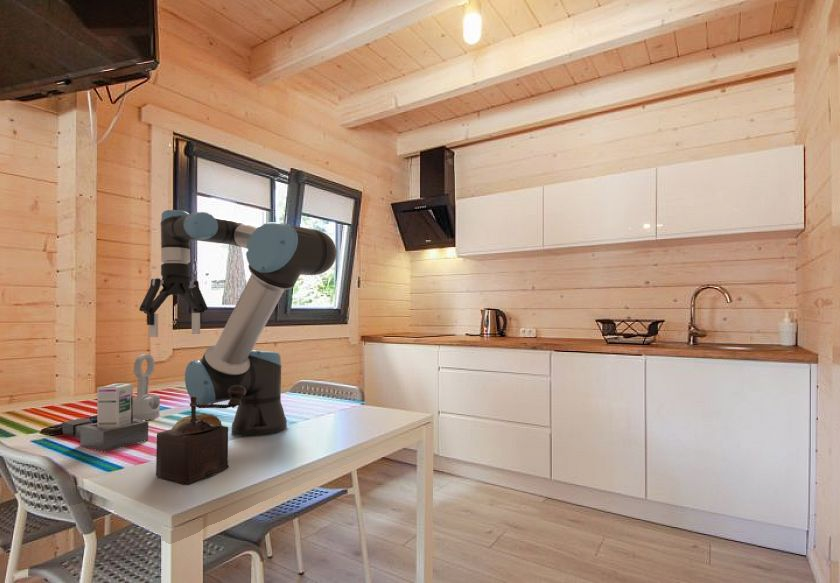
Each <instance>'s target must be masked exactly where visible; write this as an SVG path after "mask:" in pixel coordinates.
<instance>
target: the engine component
mask: <svg viewBox="0 0 840 583" xmlns="http://www.w3.org/2000/svg"><path fill="white" fill-rule="evenodd" d="M145 360H146V365H147V366H146V370H145V372H144V373H143V370H142V369H143V368H142V365H143V362H144V361H145ZM155 364H156V362H155V358H154V356H152V355H151V354H149V353H142V354H139V355H138V356H137V357H136V359H135V361H134V363H133V372H132V373H133V374H134V376H135V377H136V378H137V386H136V387H137V389H136V395H135V397H133V418H134V419H139V420H147V421H150V420H149V419H151V420H155V419H158V418H159V417H160V411H161V410H160V409H161V408H160V407H161V406H160V405H161V404H160V403H161V402H160V401H161V400H160V399H161V396H160V395H158V394H149V385H150V383H149V382H150V377H151V376H152V375H153V373H154V372H155ZM157 417H158V418H157ZM154 418H155V419H154Z"/></svg>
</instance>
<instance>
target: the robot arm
mask: <svg viewBox="0 0 840 583" xmlns="http://www.w3.org/2000/svg"><path fill="white" fill-rule="evenodd" d="M160 218H161V219H160V220H161V221H160V245H161V246H160V253H161V254H160V255H161V256H160V258H161V259H160V261H161V262H162V263H161V265H160V275H161V276H162V278H159V277H158V278H151V279H150V286H149V288H148V290H147V293H146V294H145V296H144V298H143V301H142V302H141V304H140V306H139V308H138V309H139V311H140V312H143V313H144V314H146V325H147V326H148V331H149V332H148V338H158V337H159V313H156V312H157V311H158V310H159V308H160V307H161V306H162V305H163V303H164V302H165V301H166V300H167V298H168V297H169V296H173V295H174V296H181V297H183V299H184V300H185V302H187V304H188V306H189V307H190V308H191V309H192V311H193V312H191V335H200V334H201V323H202V322H203V321H202V320H203V318H202V317H203V315H202V314H203V313H205V311H208V309H209V308H208V306H207V303H206V300H205V298H204V295H203V294H202V291H201V289H200V285H199V284H200V283H199V281H198V280H189V278H190V276H191V266H190V264H189V263H191V245H190V244H191V242H195V241H196V242H197V241H199V242H204V243H205V242H207V243H214V244H215V243H216V244H224V245H231V246H235V247H239V248H244V249H247V251H246V252H245V256H246V261H247V263H248V266H247V267H248V270H249V272H250V277H249V278H248V281H247V282H246V285H245V286H244V288H243V290H242V291H241V294H240V295H239V296H240V297H239V298H238V300H237V302H236V304H235V306H234V308H233V310H232V312H231V314H230V316H229V318H228V320H227V321H226V323H225V326H224V328H223V330H222V332H221V333H220V336H219V338H218V340H217V342H216V343H215V344H211V345H210V346H208V347H207V348H206V350H205V351H204V354H203V355H202V358H201V359H195V360H194V359H193V360H192V361H190V362H188V363H187V365H186V367H185V369H184V370H185V371H184V383H185V388H186V391H187V394H188V397H189V399H190V398H191V397H192V396H195V397H196V398H197V400H196V403H197V404H200V405H203V404H218V403H222V402H225V401H226V402H227V401H230V395H229V393H228V389H229V388H230V387H231V386H233V385H239V386H243V387H244V388H245V389H246V394H245V395H244V396H243V397H242V399H241V400H240V401H241V405H240V406H237V409H236V411H235V415H234V418H233V421H232V423H231V433H232V434H233V435H234V436H238V437H262V436H269V435H274V434H278V433H280V432H283V431H285V430H286V429H287V427H288V424H287V421H288V420H287V417H286V416H285V411H284V407H283V405H282V400H281V398H282V397H281V396H282V394H281V393H282V392H281V390H282V389H281V388H282V386H281V385H282V384H281V383H282V360H281V357H282V356H281V355H280V353H279V352H276V351H269V350H268V351H267V350H257V349H256V350H254V348H255V345H256V343H257V342H258V340H259V338H260V336H261V334H262V332H263V331H264V329H265V327H266V325H267V323H268V321H269V319H270V318H271V316H272V314H273V312H274V310H275V308H276V307H277V304H278V303H279V301H280V299H281V298H282V295H283V294H284V292H285V291H286V290H290V289H293V287H295V285H296V284H297V281H298V279H299V278H300V276H317V275H321V274H324V273H326V272H328V271H329V270H330V269H331V268H332V266H333V265H334V263H335V261H336V259H337V247H336V244H335V242H334V240H333V239H332V237H330V236H329V235H328V234H327V233H325V232H323V231H321V230H317V229H312V228H306V227H304V226H303V227H301V226H296V225H291V224H289V223H287V222H272V221H271V222H266V223H265V222H264V223H263V224H261V225H258V224H253V223H248V222H245V221H238V220H233V219H226V218H222V217H218V216H217V217H215V216H214V215H212V214H211V213H210V212H207V211H195V212H192V213H189V212H187V211H185V210H179V209H178V210H177V209H168V210H167V209H166V210H164V211H162V212H161V217H160ZM160 287H162V289H161V288H160ZM160 289H161V290H160ZM159 290H160V291H159Z"/></svg>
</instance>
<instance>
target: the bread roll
mask: <svg viewBox="0 0 840 583" xmlns="http://www.w3.org/2000/svg"><path fill="white" fill-rule="evenodd" d="M190 419H191V415H188V416H185V417H182V418H180V419H179V420H178V421H177V422H176V423H174V425H173V426H172V428H171V429H174V428H178V427H179V426H180V425H182V424H183V423H185V422H188V421H190ZM196 419H197V420H203V421H205V422H208V423H209V424H213V425H220V426H223V424H222V421H221V420H220V419H219V418H218V416H217V415H214V414H208V413H198V414H197V413H196Z"/></svg>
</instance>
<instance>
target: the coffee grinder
mask: <svg viewBox="0 0 840 583" xmlns="http://www.w3.org/2000/svg"><path fill="white" fill-rule="evenodd" d="M228 393H229V395H230V400H228V402H227V404H218V403H214V404H203V405H200V404H197V403H196V400H197V398H196V397H195V396H192V397H191V398H190V397H189V401H190V403H189V407H191V408H190V410H191V411H190V412H191V413H190V416H191V419H190V421H188V422H185V423H183V424H182V425H180V426H179V427H178V428H174V429H172V428H171V429H167V430H163V431H160V432H157V434H156V449H155V450H156V451H155V453H156V454H155V455H156V457H155V458H156V459H155V460H156V461H155V462H156V463H155V465H156V466H155V478H158V479H161V480H165V481H169V482H172V483H175V484H176V483H177V484H181V485H185V486H189V485H192V484H195V483H197V482H199V481H200V482H201V481H202V480H205V479H207V478H210V477H212V476H214V475H216V474H218V473H221V472H223V471H225V470H227V469H228V468H229V426H226V425H222V426H220V425H213V424H209V423H208V422H205V421H203V420H197V419H196V414H197V408H199V409H229V408H232V409H234V408H236V407H238V406H240V405H241V401H240V400H241V399H242V397H243V396H244V395H245V394H246V389H245V388H244V387H243V386H239V385H233V386H231V387H230V388H229V389H228Z"/></svg>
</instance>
